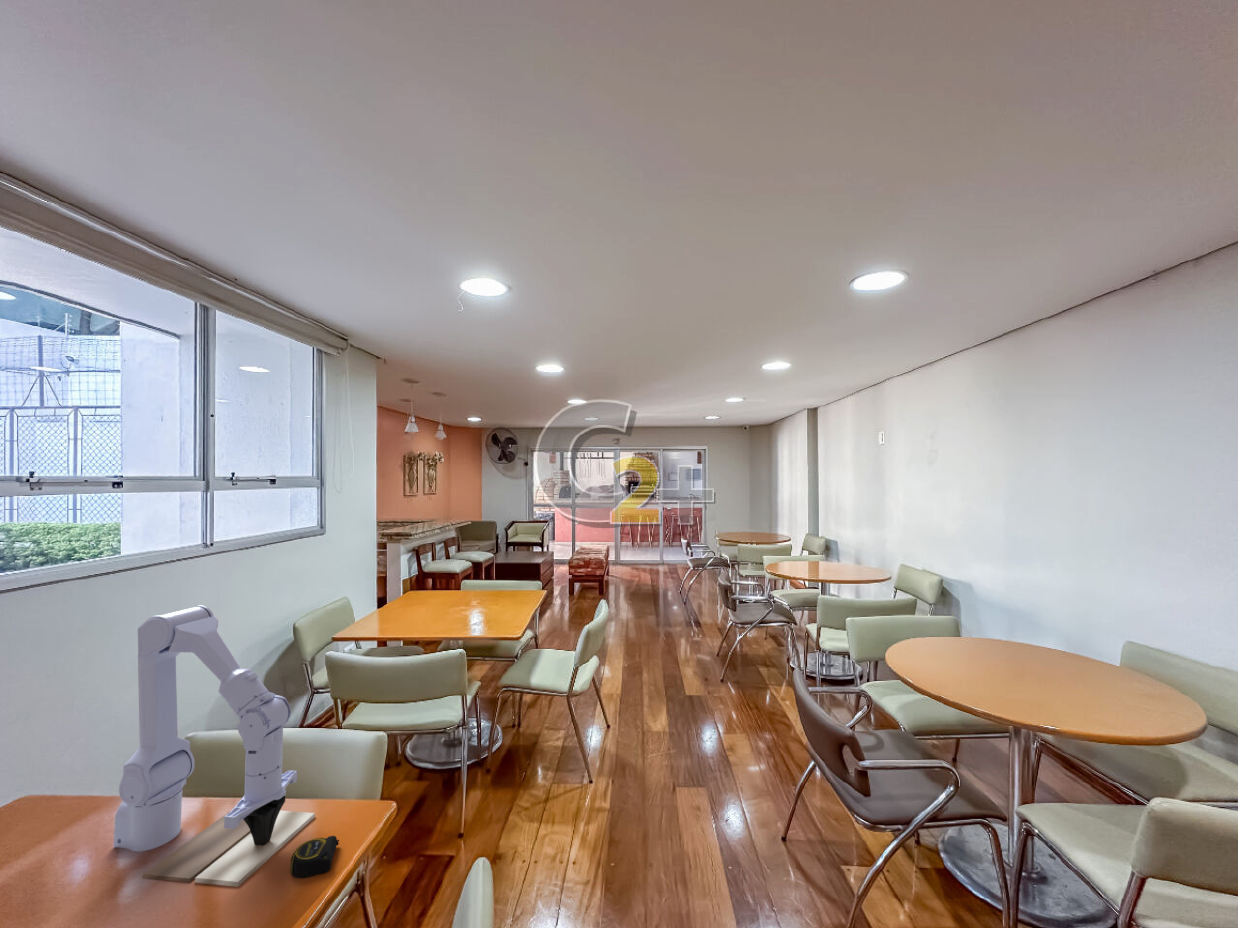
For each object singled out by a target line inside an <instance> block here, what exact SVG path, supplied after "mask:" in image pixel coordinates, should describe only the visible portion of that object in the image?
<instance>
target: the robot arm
mask: <svg viewBox="0 0 1238 928" xmlns="http://www.w3.org/2000/svg"><path fill="white" fill-rule="evenodd" d="M218 626H219V620H218V618H217V617H215V616H214V613H213V612H212V610H211V609H210V608H209V607H208V606H206V605H202V604H201V605H195V606H192V607H189V608H185V609H181V610H177V611H173V612H169V613H166V614H165V613H164V614H161V615H159V614H158V615H152V616H151V617H149V618H148V619H146V620H145V621H144V622H143V623H142V624H141V625H140V626H139V627H138V628H137V671H138V672H137V675H138V676H137V677H138V679H137V681H138V684H137V685H138V715H139V716H138V725H139V728H138V729H139V747H138V749H137V750H136V751H135V752H134V753H133V754H132V755H131V757H130V758H129V759H128V760H127V761H126V762H125V764H123V766H122V768H123V771H122V777H121V780H120V783H119V786H118V787H119V788H118V793H119V797H120V799H121V801H122V802H121V804H120V805H119V806H118V809H117V810H116V812H115V816H114V828H113V848H122V849H123V848H124V849H127V850H130V851H132V852H145V851H149V850H153V849H156V848H159V847H161V846H164V845H165V844H167V843H168V842H169V843H170V841H172V840H174V839H175V838H176V837H177V836H179V834H180V833H181V829H182V806H183V805H182V804H183V802H182V801H183V787H184V786H185V785H187V779H188V778H189V777H190V776H191V775H192V774H193V771H194V770H195V758H194V755H193V753H192V751H191V742H190V741H189V740H188V739H184V738H181V737H179V735H178V731H179V730H178V703H177V702H178V701H177V700H178V699H177V698H178V697H177V665H176V664H177V661H176V658H177V656H179V654H180V653H193V654H194V655H195V656H196V657H197V658H198V659H199V660H200V661H201V662H202V663H203V664H204V665H205V666H206V668H208V669H209V670H210V672H211V673H212V674H213V675H214V676H216V678H217V679H218V680H219V681H220V685H219V689H218V693H219V695H221V697H222V698H223V699H224V700H225V702H226V703H227V704H228V706H229V707H230V709H232V711H233V712H234V713H235V715H236V717H238V718H239V720H240V721H239V723H238V724H237V730H238V731H237V732H238V734H239V736H240V738H241V739H242V747H243V748H244V750H245V765H244V766H245V767H244V768H245V769H244V795H243V796H242V798H241V799H240V800H239V801H238V803H236V804H235V806H234V807H233V808H232V809H231V810H232V811H231V810H230V811H231V812H230V811H229V812H230V813H229V814H227V813H226V814H227V815H226V814H225V815H226V816H225V817H224V828H230V829H234V828H236V827H237V826H238V825H239V822H240V821H241V820H242V819H243V820H244V821H245V822H246V824H247V825H248V827H249V829H250V831H251V834H252V837H253V841H254V844H255V845H262V846H264V845H266V844H267V843H268V842H269V841H270V839H271V836H272V832H273V828H274V825H275V822H276V819H277V816H278V814H279V812H280V810H282V807H283V806H284V804H285V802H286V794H287V790H286V788H287V787H288V786H289V785H290V784H294V783H296V782H297V781H298V770H287V771H285V772H284V773H283V755H284V754H283V745H284V742H283V740H284V725H285V724H286V723H287V722H288V721H289V719H290V718H291V713H292V711H291V710H292V709H291V704H290V703H289V702H288V700H287V698H286V697H285V696H282V695H278V694H276V693H275V692H270V691H269V690H268V689H267V687H266V686H265V685H264V684H263V682H262V680H261V679H260V678H259V677H258V674H257V673H256V672H255V671H253V670H252V669H250V668H242V667H240V665H239V664H238V662H237V660H236V659H235V657H234V656H233V654H232V653H231V651H230V650H229V648H228V646H227V645H226V643H225V642H224V640H223V638H221V635H220V634H219V632H218Z"/></svg>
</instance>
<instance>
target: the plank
mask: <svg viewBox="0 0 1238 928" xmlns="http://www.w3.org/2000/svg"><path fill="white" fill-rule="evenodd" d="M314 818H316V813H315V812H307V811H292V810H283V809H281V810H280V812H279V814H278V816H277V819H276V822H275V825H274V828H273V832H272V836H271V839H270V841H269V842H268V843H267V844H266V845H264V846H262V845H255V844H254V841H253V837H252V834H251V833H250V834H249V835H248V836H246V837H245V838H244V839H243V840H241V841H240V842H239V843H238V844H237V845H235V846H234V847H233V848H232V849H230V850H229V851H228V852H227V853H225V854H224V855H223V856H222V857H220V858H219V859H218V860H217V861H215V862H214V863H213V864H212V865H210V866H209V867H208V868H207V869H205V870H204V871H203V872H202V873H201V874H199V875H198V876H197V877H196V878H194V883H195V884H206V885H207V884H208V885H216V886H227V887H234V888H235V887H239V886H241V885H242V883H244V882H246V881H247V879H248V878H249V877H250V876H251V875H253V874H254V873H255V872H256V871H257V870H258V869H259V868H261V867H262V866H263V864H265V863H266V862H267V861H268V860H269V859H271V857H273V855H275V854H276V853H277V852H278V851H279V850H280V849H281V848H283V847H284V845H286V844H287V843H288V842H289V841H290V840H292V838H293V837H295V836H296V835H297V834H298V833H299V832H301V830H302V829H303V828H304V827H305V826H307V824H309V823H310V822H311V821H312V820H314Z"/></svg>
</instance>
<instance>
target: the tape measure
mask: <svg viewBox="0 0 1238 928" xmlns="http://www.w3.org/2000/svg"><path fill="white" fill-rule="evenodd" d="M339 841H340V839H338V838H337V836H336V835H330V836H328V837H326V838H323V837H317V838H313V839H310V840H308V841H306V842H303V843H302V844H300V845H299V846H298V847H297V848H296V849H295V850H294V852H293V853H292V855H291V859H290V865H289V867H290V868H289V870H290V874H291V876H292V877H294V878H296V879H308V878H310V877H311V878H312V877H315V876H317V875H318V876H319V875H323V874H326V873H328V872H330V871H331V868H332V863H333V862H332V861H333V859H334V856H335V852H336V848H337V846H339Z"/></svg>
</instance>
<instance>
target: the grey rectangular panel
mask: <svg viewBox="0 0 1238 928" xmlns="http://www.w3.org/2000/svg"><path fill="white" fill-rule="evenodd" d="M232 810H233V809H231V810H230V811H228V812H227V813H225V814H224V815H223V816H221V817H220V818H219V819H217V820H216V821H215V822H214V823H212V824H211V825H209V826H208V827H206V828H205V829H204V830H202V831H201V832H200V833H198V834H196V835H195V836H194V837H192V838H191V839H190V840H188V841H187V842H186V843H184V844H183V845H181V846H180V847H178V848H177V849H175V850H174V851H172V852H171V854H168V855H167V856H165V857H164V858H163V859H162V860H160V861H159V862H157V863H156V864H155V865H154V866H152V867H151V868H149V869H148V870H146V871H145V872H144V873H143V874H142V878H144V879H151V880H152V879H153V880H161V881H162V880H164V881H165V880H166V881H175V882H183V883H184V882H185V883H191V882H192V881H193V880H195V878H196V877H197V876H198V875H199V874H201V873H202V872H203V871H204V870H206V869H207V868H208V867H209V866H210V865H212V864H213V863H214V862H215V861H217V860H218V859H219V858H220V857H222V856H223V855H224V854H225V853H227V852H228V851H229V850H230V849H232V848H233V847H234V846H235V845H237V844H238V843H239V842H240V841H241V840H243V839H244V838H245V837H246V836H248V835H249V834H250V833H251V831H250V829H249V827H248V825H247V824H246V822H245V821H244V820H243V819H242V820H241V821H240V822H239V825H238V826H237V827H236V828H234V829H230V828H224V817H225V816H226V815H227V814H229V813H230V812H231V811H232Z"/></svg>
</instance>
